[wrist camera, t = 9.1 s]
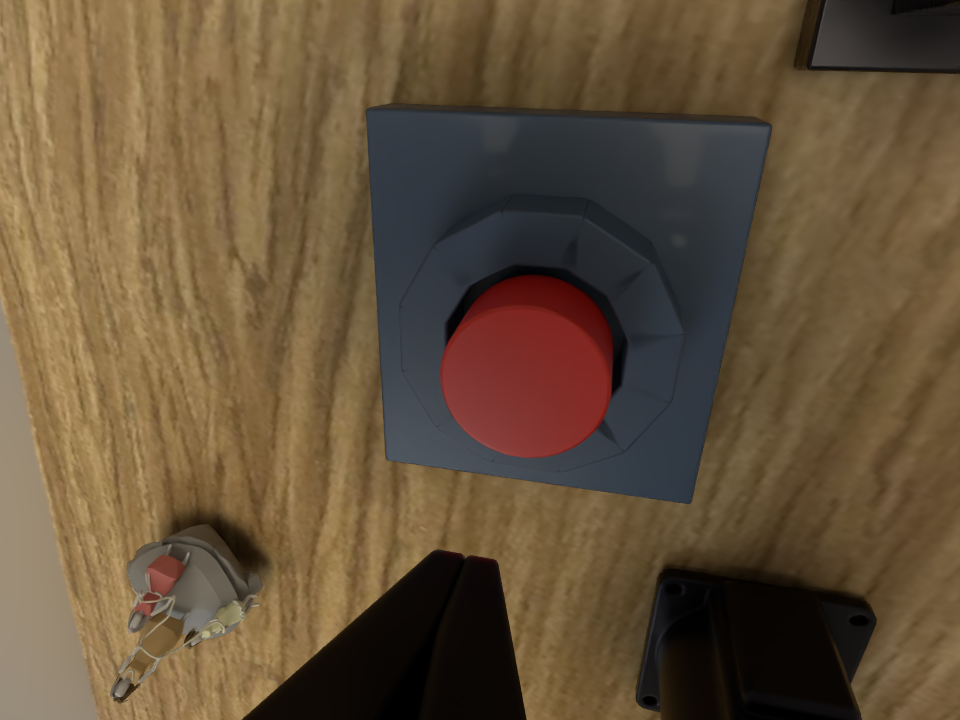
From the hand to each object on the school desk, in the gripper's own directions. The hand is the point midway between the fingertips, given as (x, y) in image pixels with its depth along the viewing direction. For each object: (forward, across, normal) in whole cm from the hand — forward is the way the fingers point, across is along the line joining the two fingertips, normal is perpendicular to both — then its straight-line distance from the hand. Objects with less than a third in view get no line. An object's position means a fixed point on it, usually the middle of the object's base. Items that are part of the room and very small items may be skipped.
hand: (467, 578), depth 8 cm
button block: (+10, 0, 0) cm, 11 cm away
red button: (+7, 0, 0) cm, 7 cm away
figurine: (+11, +13, +12) cm, 20 cm away
